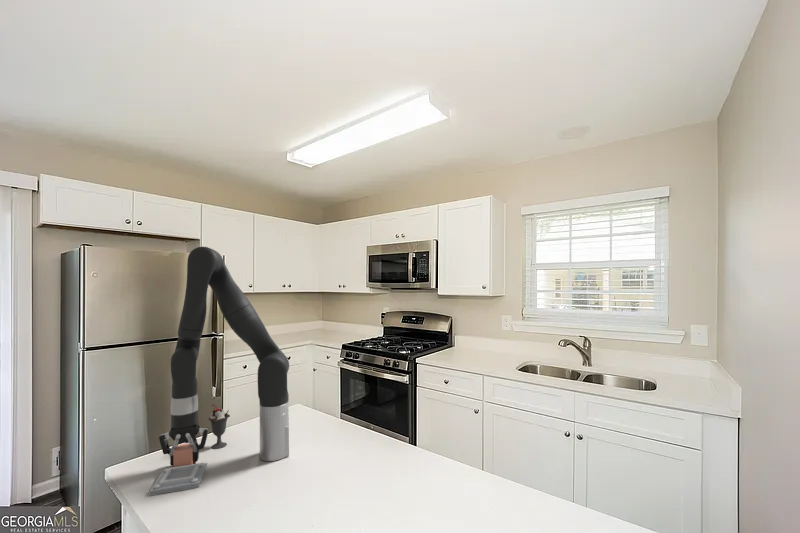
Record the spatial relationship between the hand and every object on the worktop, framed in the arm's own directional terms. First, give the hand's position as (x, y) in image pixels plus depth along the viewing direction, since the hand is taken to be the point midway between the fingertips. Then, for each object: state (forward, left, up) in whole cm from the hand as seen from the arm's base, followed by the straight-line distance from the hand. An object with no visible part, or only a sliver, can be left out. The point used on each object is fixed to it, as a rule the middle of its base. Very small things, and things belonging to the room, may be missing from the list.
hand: (184, 464), depth 115 cm
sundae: (-8, -12, -1) cm, 14 cm away
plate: (-1, +9, -1) cm, 9 cm away
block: (0, 0, -1) cm, 1 cm away
